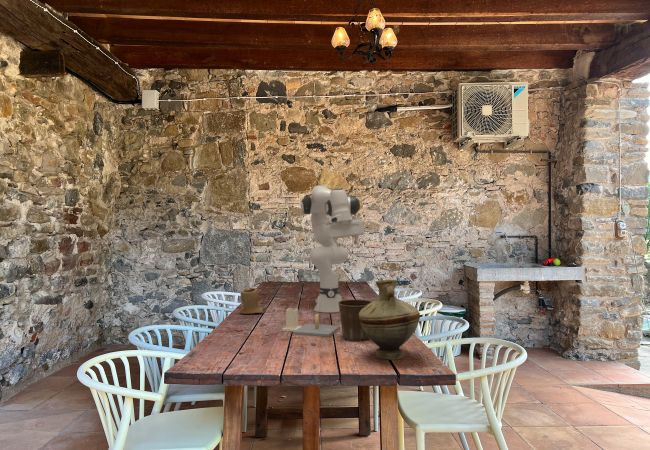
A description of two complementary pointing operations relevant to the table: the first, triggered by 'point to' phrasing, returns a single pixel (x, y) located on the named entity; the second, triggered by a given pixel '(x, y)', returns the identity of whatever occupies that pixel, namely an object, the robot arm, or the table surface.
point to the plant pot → (352, 319)
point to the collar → (291, 320)
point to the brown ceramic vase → (389, 321)
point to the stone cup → (251, 302)
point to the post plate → (316, 329)
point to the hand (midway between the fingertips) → (347, 245)
